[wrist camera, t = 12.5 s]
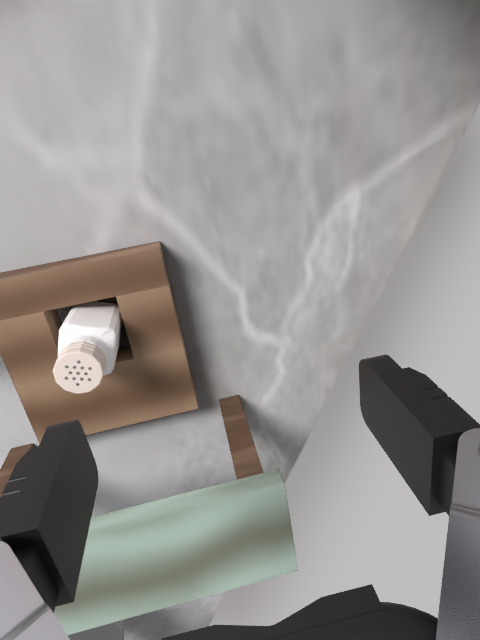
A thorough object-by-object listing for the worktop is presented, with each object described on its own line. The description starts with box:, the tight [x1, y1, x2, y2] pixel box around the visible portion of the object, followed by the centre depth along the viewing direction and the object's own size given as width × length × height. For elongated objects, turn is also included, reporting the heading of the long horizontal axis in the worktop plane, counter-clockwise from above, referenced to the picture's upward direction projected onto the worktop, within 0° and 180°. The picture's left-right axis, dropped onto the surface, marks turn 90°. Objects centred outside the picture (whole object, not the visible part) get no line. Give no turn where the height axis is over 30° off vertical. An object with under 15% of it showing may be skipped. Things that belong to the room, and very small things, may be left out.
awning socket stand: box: [0, 241, 298, 635], centre depth 30 cm, size 19×23×18 cm
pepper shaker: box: [53, 301, 122, 394], centre depth 32 cm, size 4×4×10 cm
